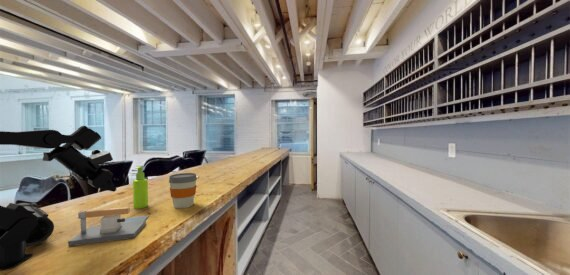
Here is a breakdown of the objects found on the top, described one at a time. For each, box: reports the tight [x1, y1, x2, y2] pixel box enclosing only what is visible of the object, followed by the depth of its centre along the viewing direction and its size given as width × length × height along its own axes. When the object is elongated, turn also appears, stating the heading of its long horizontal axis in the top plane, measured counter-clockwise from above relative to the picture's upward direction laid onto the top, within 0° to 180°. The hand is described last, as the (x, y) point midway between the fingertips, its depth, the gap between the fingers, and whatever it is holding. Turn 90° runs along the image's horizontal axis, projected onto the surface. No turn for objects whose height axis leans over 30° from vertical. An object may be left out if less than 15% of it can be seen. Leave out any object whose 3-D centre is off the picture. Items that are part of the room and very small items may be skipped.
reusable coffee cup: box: [168, 172, 198, 209], centre depth 109 cm, size 13×13×15 cm
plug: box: [100, 215, 126, 233], centre depth 78 cm, size 5×6×6 cm
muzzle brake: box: [17, 202, 55, 248], centre depth 77 cm, size 10×28×10 cm
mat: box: [121, 215, 149, 223], centre depth 89 cm, size 8×8×1 cm
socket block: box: [67, 218, 147, 247], centre depth 77 cm, size 12×18×6 cm, turn 106°
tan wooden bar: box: [77, 206, 131, 220], centre depth 77 cm, size 2×15×2 cm, turn 106°
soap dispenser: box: [132, 165, 149, 209], centre depth 107 cm, size 6×7×20 cm
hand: (109, 187), depth 83 cm, fingers open, 9 cm apart
